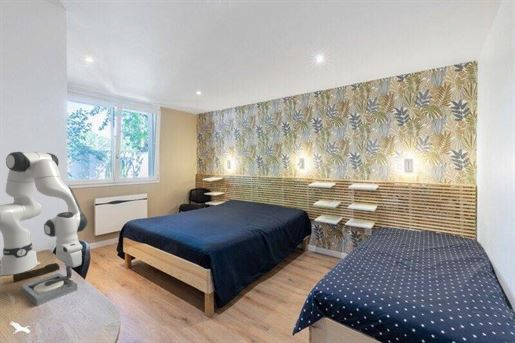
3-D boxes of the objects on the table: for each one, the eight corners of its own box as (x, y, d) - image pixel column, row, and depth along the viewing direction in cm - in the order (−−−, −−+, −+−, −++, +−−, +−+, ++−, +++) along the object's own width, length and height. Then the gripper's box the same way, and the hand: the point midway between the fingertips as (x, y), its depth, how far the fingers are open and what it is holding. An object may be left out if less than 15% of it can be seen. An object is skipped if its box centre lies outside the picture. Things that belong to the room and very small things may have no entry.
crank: (31, 289, 118) (30, 274, 117) (68, 277, 129) (68, 263, 129) (36, 297, 111) (35, 281, 110) (75, 284, 122) (74, 269, 122)
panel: (21, 291, 118) (20, 285, 118) (60, 277, 131) (60, 272, 131) (37, 305, 106) (36, 298, 106) (78, 289, 120) (78, 283, 119)
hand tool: (13, 283, 126) (12, 274, 126) (13, 280, 129) (12, 272, 129) (60, 271, 140) (59, 263, 139) (59, 269, 142) (58, 261, 142)
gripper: (51, 242, 128) (52, 268, 129) (69, 250, 117) (70, 278, 118) (65, 239, 133) (67, 263, 134) (84, 246, 123) (85, 273, 123)
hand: (68, 270), depth 126 cm, fingers closed, pressing on crank
